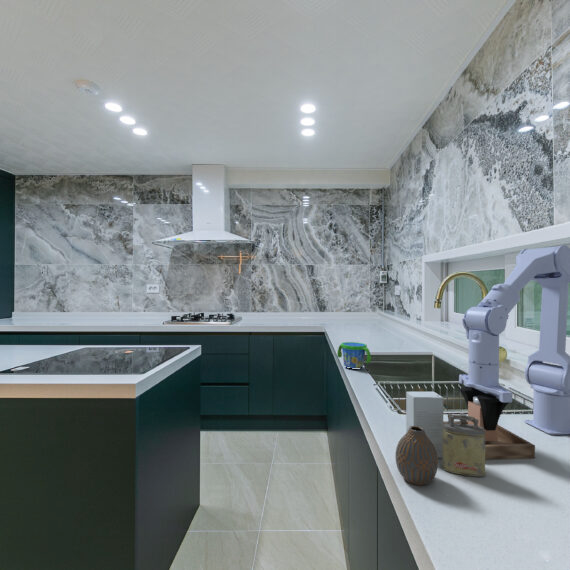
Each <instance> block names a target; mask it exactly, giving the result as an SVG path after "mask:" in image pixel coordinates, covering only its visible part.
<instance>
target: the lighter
mask: <svg viewBox="0 0 570 570" xmlns="http://www.w3.org/2000/svg"><path fill="white" fill-rule="evenodd" d="M455 420H457V421H461V423H454V421H455ZM447 421H448V422H447V423H444V429H443V458H442V465H441V468H442V469H443V470H445V471H446V472H448V473H451V474H457V475H461V476H464V477H470V476H471V477H478V478H480V477H485V476H486V459H485V429H484V428H482V427H480V426H478V419H475V417H474V418H473V417H470V416H468V414H465V413H459V414H452V413H447ZM467 421H471V422H473V423H474V425H470V424H465V422H467Z"/></svg>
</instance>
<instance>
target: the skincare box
mask: <svg viewBox="0 0 570 570" xmlns="http://www.w3.org/2000/svg"><path fill="white" fill-rule="evenodd" d="M405 397H406V399H405V400H406V401H405V404H406V406H405V407H406V408H405V409H406V415H405V418H406V419H405V420H406V423H405V427H406V429H405V434H406V433H407V431H408V430H409V428H410V427H411V426H418V427H421V428H423V429H424V431H425V433H426V435H427V437H428V438H429V439H430V441H431V442H432V444H433V445H434V447H435V449H436V453H437V457H438V459H443V421H444V397H443V396H442V395H440V394H438V393H437V392H435V391H406V395H405Z"/></svg>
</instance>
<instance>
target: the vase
mask: <svg viewBox="0 0 570 570" xmlns="http://www.w3.org/2000/svg"><path fill="white" fill-rule="evenodd" d="M395 464H396V468H397V471H398V472H399V474H400V475H401V477H402V478H403V479H404V480H405V481H407V482H408V483H409V484H412V485H416V486H424V485H428V484H430V482H432V481H433V479H434V478H435V476H436V475H437V472H438V469H439V467H438V466H439V458H438V457H437V453H436V449H435V447H434V445H433V444H432V442H431V441H430V439H429V438H428V437H427V435H426V433H425V431H424V429H423V428H421V427H418V426H411V427H410V428H409V430H408V431H407V433H406V432H405V433H404V434H403V436H402V437H400V440H399V441H398V443H397V445H396V448H395Z"/></svg>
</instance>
